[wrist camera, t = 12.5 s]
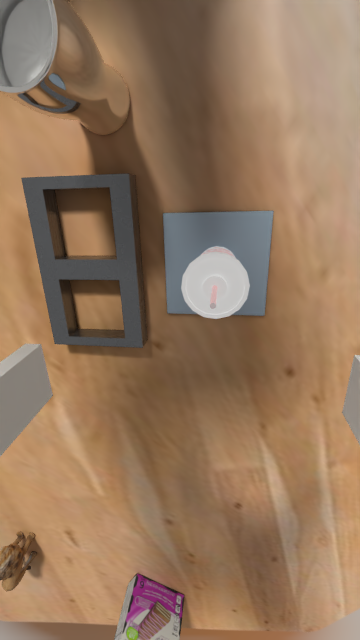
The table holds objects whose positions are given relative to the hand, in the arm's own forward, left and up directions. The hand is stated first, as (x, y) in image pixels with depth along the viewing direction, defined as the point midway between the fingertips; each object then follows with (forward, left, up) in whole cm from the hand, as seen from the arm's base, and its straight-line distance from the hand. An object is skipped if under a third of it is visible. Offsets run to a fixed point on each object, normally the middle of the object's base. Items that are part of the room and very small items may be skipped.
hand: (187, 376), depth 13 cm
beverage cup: (0, +1, -25) cm, 25 cm away
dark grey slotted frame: (0, -14, -25) cm, 29 cm away
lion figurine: (+58, -38, -25) cm, 74 cm away
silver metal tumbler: (-17, -11, -25) cm, 32 cm away
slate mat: (0, +1, -25) cm, 25 cm away
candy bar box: (+67, -10, -25) cm, 73 cm away
